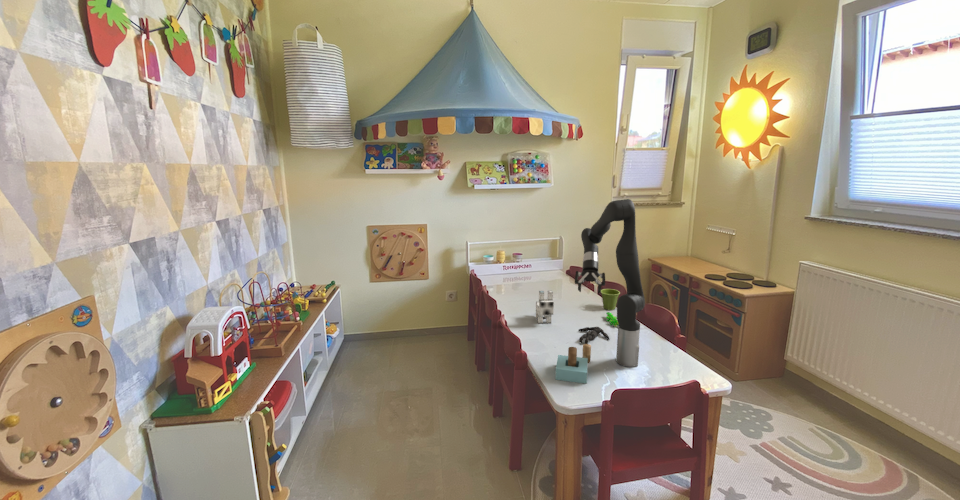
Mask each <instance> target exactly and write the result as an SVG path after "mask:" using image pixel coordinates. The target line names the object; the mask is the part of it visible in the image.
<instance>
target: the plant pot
mask: <svg viewBox="0 0 960 500" xmlns="http://www.w3.org/2000/svg"><path fill="white" fill-rule="evenodd" d="M600 293H601V298H602V307H603V309H604V310H608V311H615V309H616V308H617V302H618V299H619V297H620V296H619V295H620V294H621V292H620V291H619V290H618V289H613V288H603V289H602V288H601V292H600Z"/></svg>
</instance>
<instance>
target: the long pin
mask: <svg viewBox="0 0 960 500" xmlns="http://www.w3.org/2000/svg"><path fill="white" fill-rule="evenodd" d="M567 351H568V353H567V354H568V355H567V356H568V366H572V367H576V361H577V357H578V356H577V355H578V348H577V347H576V346H569V347H568V349H567Z"/></svg>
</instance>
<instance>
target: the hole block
mask: <svg viewBox="0 0 960 500" xmlns="http://www.w3.org/2000/svg"><path fill="white" fill-rule="evenodd" d="M588 364H589V363H588V358H582V357H580V356H577V361H576V367H572V366H568V355H562V354H558V355H557V360H556V365H555V366H556V367H555V380H557V381H564V382H571V383H578V384H587V383H588Z"/></svg>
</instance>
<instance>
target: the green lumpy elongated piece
mask: <svg viewBox="0 0 960 500" xmlns="http://www.w3.org/2000/svg"><path fill="white" fill-rule="evenodd" d="M605 319H606V322H608V323H609V326H614V327H615V328H618V321H617V316H615V315H614V314H613V313H612V312H610V311H607V312H606V317H605Z"/></svg>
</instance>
